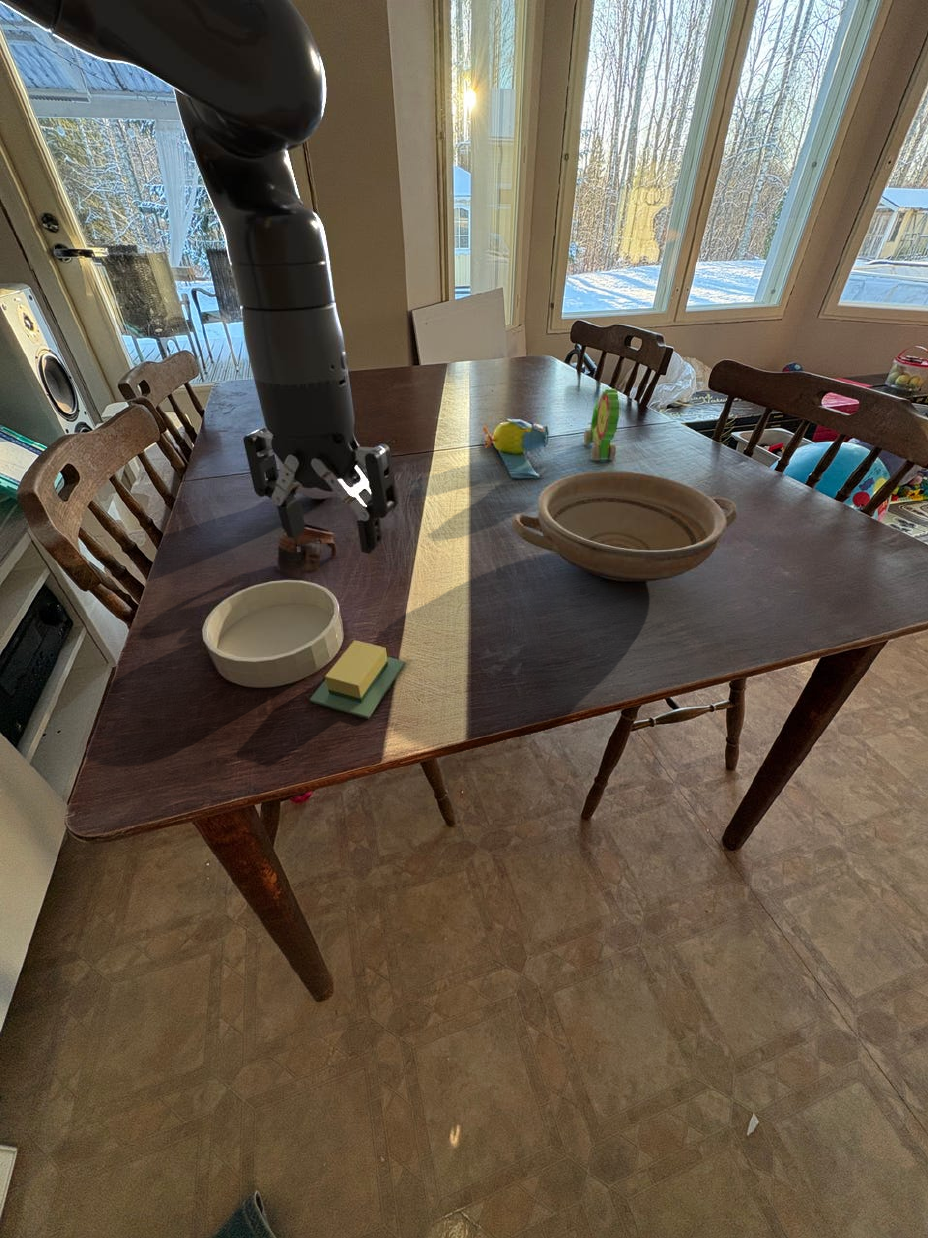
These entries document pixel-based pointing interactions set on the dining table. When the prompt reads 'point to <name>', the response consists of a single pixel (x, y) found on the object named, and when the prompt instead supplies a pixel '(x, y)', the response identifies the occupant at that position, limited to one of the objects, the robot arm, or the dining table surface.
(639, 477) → the ceramic bowl
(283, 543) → the pottery mug
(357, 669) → the sponge
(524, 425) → the toy airplane
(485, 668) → the dining table surface
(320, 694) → the mat
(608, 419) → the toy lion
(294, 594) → the wash bowl
